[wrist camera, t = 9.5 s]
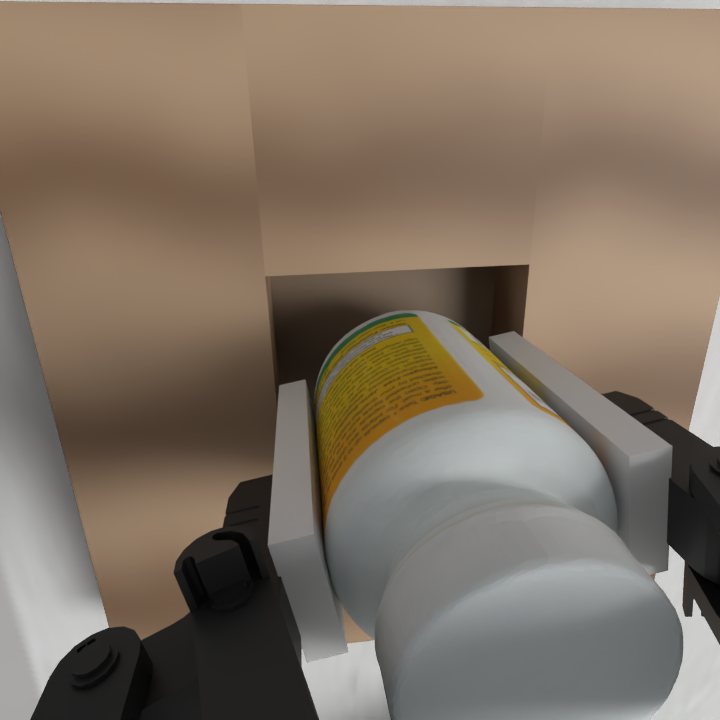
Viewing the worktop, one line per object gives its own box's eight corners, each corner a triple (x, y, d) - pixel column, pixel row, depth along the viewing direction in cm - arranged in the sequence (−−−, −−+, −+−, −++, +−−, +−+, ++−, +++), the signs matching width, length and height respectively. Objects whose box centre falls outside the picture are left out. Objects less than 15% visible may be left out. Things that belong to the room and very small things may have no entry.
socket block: (25, 40, 14) (-55, 0, 11) (686, 42, 16) (785, 9, 13) (147, 594, 21) (120, 671, 18) (598, 545, 23) (648, 606, 20)
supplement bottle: (508, 325, 15) (819, 545, 6) (456, 476, 17) (641, 823, 8) (333, 287, 14) (403, 488, 5) (295, 453, 16) (299, 822, 7)
